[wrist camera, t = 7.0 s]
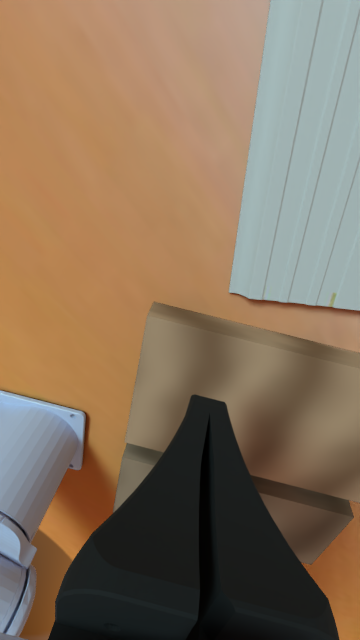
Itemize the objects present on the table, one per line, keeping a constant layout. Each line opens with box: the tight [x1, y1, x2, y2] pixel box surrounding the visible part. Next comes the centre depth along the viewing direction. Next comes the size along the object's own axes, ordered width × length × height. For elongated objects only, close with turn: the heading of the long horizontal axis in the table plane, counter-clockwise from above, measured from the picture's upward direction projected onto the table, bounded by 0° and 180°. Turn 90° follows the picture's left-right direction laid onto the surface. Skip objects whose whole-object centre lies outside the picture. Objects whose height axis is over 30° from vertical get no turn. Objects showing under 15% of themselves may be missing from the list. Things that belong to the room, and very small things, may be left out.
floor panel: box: [113, 443, 354, 565], centre depth 30 cm, size 20×10×2 cm, turn 78°
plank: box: [125, 302, 360, 503], centre depth 24 cm, size 20×12×2 cm, turn 78°
